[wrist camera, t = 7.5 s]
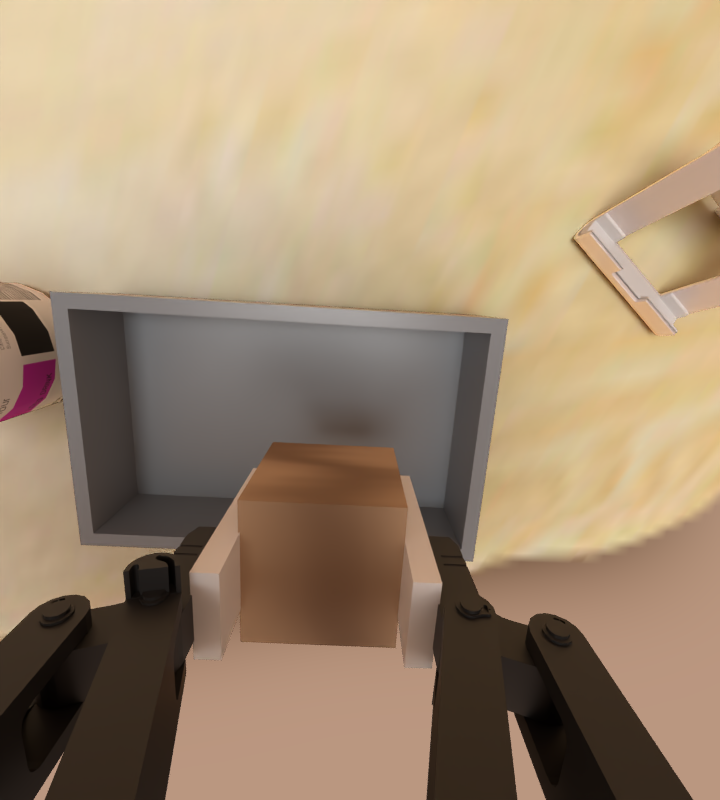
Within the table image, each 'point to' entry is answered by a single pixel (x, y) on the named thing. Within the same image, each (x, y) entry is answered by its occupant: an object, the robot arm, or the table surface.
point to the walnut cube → (322, 546)
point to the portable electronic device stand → (675, 191)
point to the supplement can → (26, 351)
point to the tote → (264, 404)
